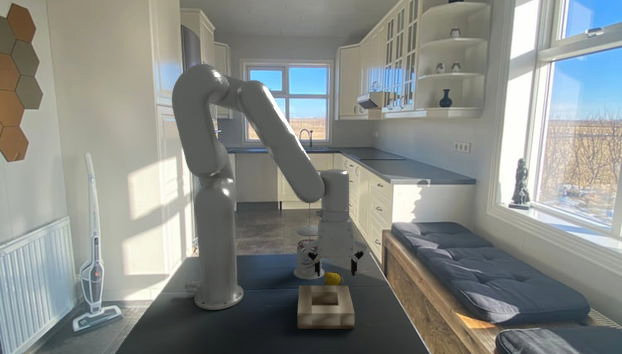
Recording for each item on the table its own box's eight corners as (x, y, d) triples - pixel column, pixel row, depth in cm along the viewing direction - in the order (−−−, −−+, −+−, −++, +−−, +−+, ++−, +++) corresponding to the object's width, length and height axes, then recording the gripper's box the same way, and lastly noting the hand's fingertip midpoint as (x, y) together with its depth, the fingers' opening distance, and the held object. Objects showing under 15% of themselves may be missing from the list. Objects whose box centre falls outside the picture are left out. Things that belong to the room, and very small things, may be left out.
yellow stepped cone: (348, 291, 94) (334, 278, 87) (331, 297, 95) (316, 284, 88) (345, 274, 97) (331, 260, 90) (328, 279, 99) (314, 266, 92)
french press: (289, 268, 107) (289, 193, 103) (321, 263, 112) (322, 190, 108) (300, 281, 98) (300, 199, 94) (335, 275, 103) (336, 196, 99)
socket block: (297, 328, 76) (297, 313, 75) (299, 298, 89) (299, 285, 88) (354, 328, 76) (354, 313, 75) (347, 299, 89) (347, 285, 88)
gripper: (303, 219, 86) (304, 281, 89) (369, 218, 86) (369, 279, 89) (303, 211, 93) (305, 268, 96) (364, 210, 93) (364, 267, 96)
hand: (335, 274), depth 92 cm, fingers open, 9 cm apart
